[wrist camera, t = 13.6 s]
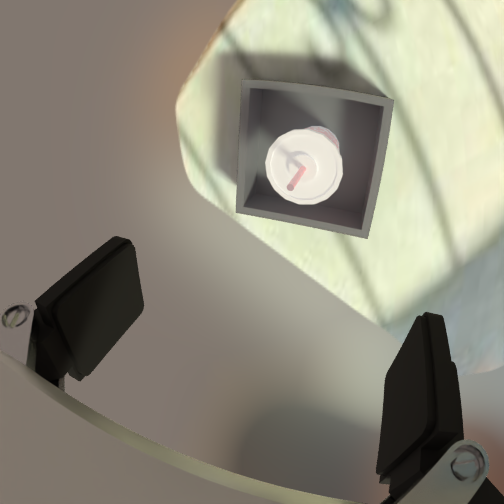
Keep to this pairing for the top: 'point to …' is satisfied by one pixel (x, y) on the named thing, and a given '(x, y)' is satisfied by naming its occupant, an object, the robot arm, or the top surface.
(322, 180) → the beverage cup
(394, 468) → the robot arm
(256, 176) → the bin
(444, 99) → the top surface
